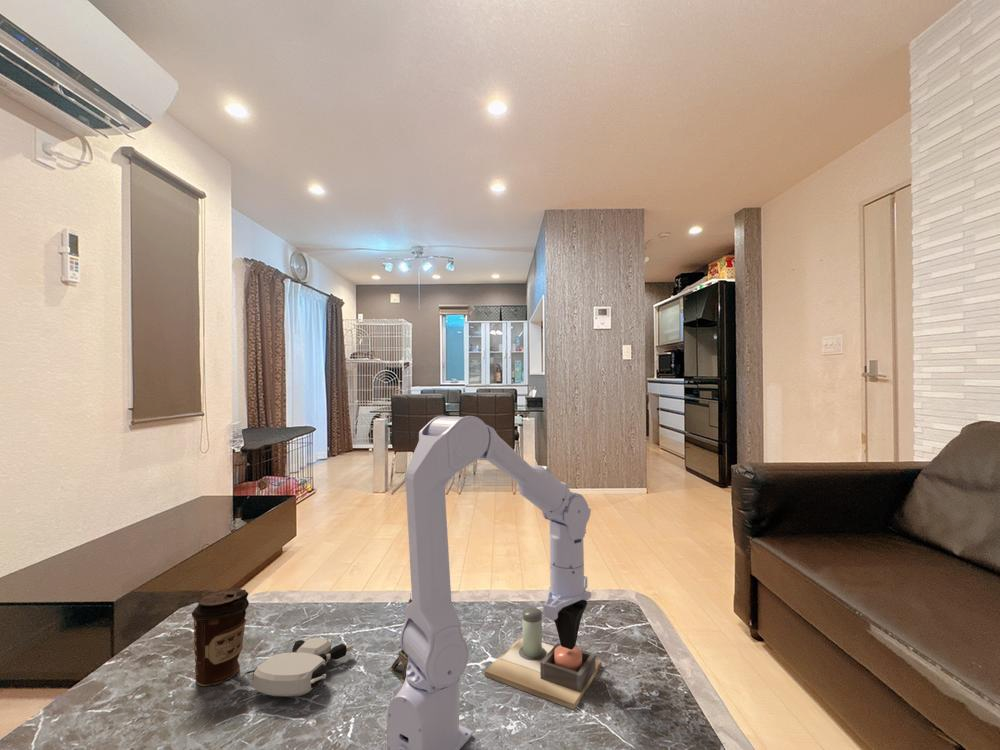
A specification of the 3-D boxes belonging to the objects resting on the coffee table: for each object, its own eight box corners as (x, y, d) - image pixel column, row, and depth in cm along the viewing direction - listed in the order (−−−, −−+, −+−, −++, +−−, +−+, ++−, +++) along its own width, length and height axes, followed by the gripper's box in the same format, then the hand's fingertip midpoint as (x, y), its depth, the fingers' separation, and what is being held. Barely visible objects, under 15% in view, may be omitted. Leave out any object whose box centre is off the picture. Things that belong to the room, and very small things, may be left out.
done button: (576, 676, 68) (576, 663, 69) (550, 667, 71) (549, 654, 71) (586, 661, 72) (586, 649, 73) (561, 654, 75) (560, 642, 75)
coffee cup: (259, 665, 76) (262, 588, 77) (216, 695, 68) (221, 609, 69) (220, 657, 78) (224, 583, 79) (175, 685, 70) (180, 603, 71)
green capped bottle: (536, 659, 75) (536, 618, 76) (519, 654, 77) (519, 613, 78) (545, 650, 78) (544, 610, 79) (528, 645, 80) (528, 606, 81)
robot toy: (295, 656, 80) (234, 703, 65) (297, 630, 81) (237, 671, 66) (356, 662, 78) (307, 712, 64) (358, 635, 79) (310, 678, 64)
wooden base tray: (574, 709, 64) (573, 686, 64) (484, 676, 72) (484, 655, 73) (601, 665, 75) (600, 646, 75) (521, 640, 83) (521, 623, 84)
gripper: (573, 581, 65) (574, 676, 64) (602, 554, 77) (604, 633, 76) (531, 572, 68) (532, 662, 67) (566, 548, 81) (567, 623, 80)
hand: (568, 646), depth 72 cm, fingers closed
